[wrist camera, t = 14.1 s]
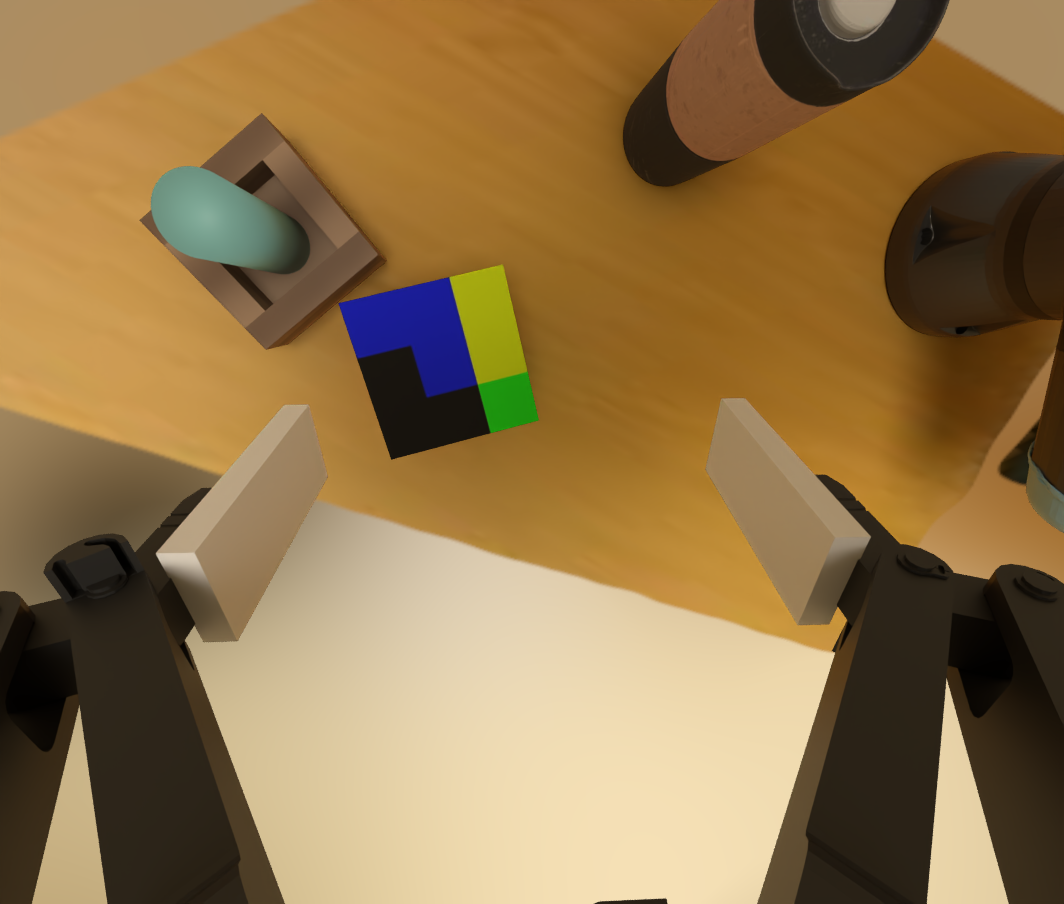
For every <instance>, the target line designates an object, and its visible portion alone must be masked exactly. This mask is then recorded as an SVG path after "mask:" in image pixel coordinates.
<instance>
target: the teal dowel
mask: <svg viewBox="0 0 1064 904" xmlns="http://www.w3.org/2000/svg"><path fill="white" fill-rule="evenodd" d="M151 211H152V216H153V219H154V222H155V224H156V226H157V228H158V230H159V232H160V233H161V234H162V236H163V237H164V238H165V239H166V241H167V242H168V243H169V244H171V245H172V246H173V247H174V248H176V249H177V250H178V251H180V252H182V253H184V254H186V255H188V256H191V257H194V258H199V259H204V260H209V261H214V262H220V263H225V264H230V265H235V266H241V267H246V268H251V269H256V270H262V271H267V272H272V273H277V274H291V273H294V272H296V271H298V270H300V269H301V268H302V267H303V266H304V265H305V264H306V262H307V260H308V258H309V255H310V242H309V238H308V235H307V233H306V231H305V230H304V228H303V227H302V226H301V224H300V223H299V222H297V221H296V220H295V219H293V218H292V217H290V216H288V215H287V214H285V213H283V212H281V211H280V210H278V209H276V208H274V207H273V206H271V205H269V204H267V203H266V202H264V201H262V200H260V199H259V198H257V197H255V196H253V195H252V194H250V193H248V192H246V191H245V190H243V189H241V188H239V187H238V186H236V185H234V184H232V183H231V182H229V181H227V180H225V179H224V178H222V177H220V176H218V175H217V174H215V173H213V172H211V171H209V170H206V169H203V168H199V167H193V166H184V167H178V168H175V169H172V170H170V171H169V172H167V173H166V174H164V175H163V176H162V177H161V178H160V179H159V180H158V182H157V183H156V185H155V187H154V189H153V192H152V197H151Z"/></svg>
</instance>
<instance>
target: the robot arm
mask: <svg viewBox="0 0 1064 904" xmlns="http://www.w3.org/2000/svg"><path fill="white" fill-rule="evenodd" d="M886 282H887V288H888V293H889V296H890V299H891V302H892V304H893V306H894V308H895V310H896V312H897V313H898V315H899V316H900V317H901V319H902V320H903V321H904V322H905V323H906V324H907V325H909V326H910V327H911V328H913V329H915V330H916V331H918V332H921V333H923V334H927V335H931V336H943V337H969V336H976V335H980V334H984V333H988V332H992V331H996V330H1000V329H1004V328H1008V327H1012V326H1016V325H1020V324H1024V323H1028V322H1032V321H1036V320H1062V325H1061V330H1060V334H1059V339H1058V343H1057V346H1056V352H1055V356H1054V361H1053V365H1052V370H1051V374H1050V378H1049V383H1048V388H1047V391H1046V396H1045V401H1044V405H1043V409H1042V413H1041V418H1040V422H1039V426H1038V431H1037V435H1036V440H1035V441H1033V442H1032V444H1031V445H1030V448H1029V451H1028V458H1029V461H1028V463H1029V465H1030V466H1029V472H1028V478H1027V484H1026V492H1027V495H1028V498H1029V502H1030V503H1031V505H1032V507H1033V509H1034V510H1035V511H1036V512H1037V513H1038V514H1039V515H1040V516H1041V517H1042V518H1043V519H1044V520H1046V521H1047V522H1048V523H1049V524H1050V525H1052V526H1053V527H1055V528H1056V529H1058V530H1059V531H1061V532H1063V533H1064V155H1052V154H1034V153H1016V152H992V153H987V154H983V155H979V156H975V157H972V158H968V159H965V160H961V161H958V162H955V163H953V164H950V165H948V166H946V167H944V168H943V169H941V170H939V171H938V172H936V173H935V174H934V175H932V176H931V177H930V178H929V179H928V180H926V181H925V182H924V183H923V184H922V185H921V186H920V187H919V188H918V189H917V191H916V192H915V193H914V194H913V195H912V197H911V198H910V200H909V201H908V202H907V204H906V205H905V207H904V209H903V210H902V212H901V214H900V216H899V218H898V220H897V222H896V224H895V227H894V229H893V232H892V235H891V238H890V242H889V246H888V251H887V258H886ZM705 470H706V471H707V473H708V475H709V476H710V478H711V480H712V481H713V483H714V485H715V486H716V488H717V490H718V491H719V493H720V495H721V497H722V498H723V500H724V502H725V503H726V505H727V507H728V508H729V510H730V512H731V513H732V515H733V517H734V519H735V520H736V522H737V524H738V525H739V527H740V529H741V530H742V532H743V534H744V535H745V537H746V539H747V540H748V542H749V544H750V546H751V547H752V549H753V551H754V552H755V554H756V556H757V557H758V559H759V561H760V562H761V564H762V566H763V568H764V569H765V571H766V573H767V574H768V576H769V578H770V579H771V581H772V583H773V584H774V586H775V588H776V590H777V591H778V593H779V595H780V596H781V598H782V600H783V601H784V603H785V605H786V606H787V608H788V610H789V611H790V613H791V615H792V617H793V618H794V620H795V622H796V623H797V625H821V624H830V621H831V619H832V617H833V615H834V613H835V611H836V609H837V607H839V609H840V610H841V612H842V613H843V614H844V616H845V617H846V619H847V622H846V624H845V626H844V628H843V630H842V632H841V634H840V636H839V638H838V640H837V642H836V644H835V646H834V648H833V650H832V651H833V652H835V655H834V659H833V662H832V665H831V668H830V672H829V675H828V678H827V681H826V685H825V688H824V691H823V694H822V698H821V701H820V704H819V707H818V710H817V714H816V717H815V720H814V723H813V726H812V730H811V733H810V736H809V739H808V742H807V746H806V749H805V752H804V755H803V759H802V762H801V765H800V768H799V772H798V775H797V778H796V781H795V784H794V788H793V792H792V794H791V798H790V800H789V804H788V807H787V810H786V813H785V817H784V820H783V823H782V826H781V829H780V833H779V836H778V839H777V842H776V846H775V849H774V852H773V855H772V858H771V862H770V865H769V868H768V871H767V875H766V878H765V881H764V884H763V888H762V891H761V894H760V897H759V900H758V903H757V904H927V893H928V882H929V870H930V859H931V848H932V836H933V824H934V813H935V802H936V790H937V779H938V768H939V756H940V746H941V735H942V723H943V711H944V701H945V689H946V678H947V681H948V685H949V688H950V691H951V695H952V699H953V703H954V706H955V710H956V714H957V717H958V721H959V724H960V728H961V732H962V735H963V739H964V743H965V746H966V750H967V753H968V757H969V761H970V764H971V768H972V772H973V775H974V779H975V782H976V786H977V790H978V793H979V797H980V801H981V804H982V808H983V811H984V815H985V819H986V822H987V826H988V830H989V833H990V837H991V840H992V844H993V848H994V851H995V855H996V859H997V862H998V866H999V870H1000V873H1001V876H1002V881H1003V883H1004V888H1005V891H1006V895H1007V899H1008V902H1009V904H1064V584H1063V583H1062V582H1060V581H1059V580H1057V579H1056V578H1054V577H1052V576H1051V575H1047V574H1046V573H1044V572H1042V571H1040V570H1035V569H1033V568H1029V567H1026V566H1021V565H1014V564H1008V565H1001V566H1000V567H999V568H997V569H996V570H995V572H994V573H993V575H992V576H991V578H990V579H989V580H988V579H983V578H978V577H973V576H967V575H962V574H957V573H953V571H952V570H951V568H950V567H949V566H948V565H947V564H946V563H945V562H944V561H943V560H941V559H940V558H938V557H937V556H935V555H934V554H932V553H929V552H927V551H925V550H923V549H921V548H918V547H914V546H910V545H904V544H900V543H899V542H898V541H897V540H896V539H895V538H894V537H893V536H892V535H891V534H890V533H889V532H888V531H887V530H886V529H885V528H884V527H883V526H882V525H881V524H880V523H879V522H878V521H877V520H876V519H875V518H874V517H873V515H872V514H871V513H870V512H869V511H866V510H865V509H866V508H865V507H864V506H863V505H862V504H861V503H860V502H859V501H856V498H855V497H854V496H853V495H852V494H851V493H850V492H849V491H848V490H847V489H846V488H845V487H844V485H842V484H840V483H839V482H837V481H835V480H834V479H832V478H830V477H829V476H827V475H814V474H813V473H812V471H811V470H810V469H809V468H808V467H807V466H806V465H805V464H804V463H803V462H802V460H801V459H800V458H799V457H798V456H797V455H796V454H795V453H794V452H793V451H792V449H791V448H790V447H789V446H788V445H787V444H786V443H785V442H784V441H783V440H782V438H781V437H780V436H779V435H778V434H777V433H776V432H775V431H774V430H773V429H772V427H771V426H770V425H769V424H768V423H767V422H766V421H765V420H764V419H763V418H762V416H761V415H760V414H759V413H758V412H757V411H756V410H755V409H754V408H753V407H752V405H751V404H750V403H749V402H748V401H747V400H746V399H745V398H721V402H720V407H719V411H718V416H717V420H716V425H715V429H714V433H713V438H712V442H711V447H710V451H709V456H708V460H707V465H706V469H705ZM327 477H328V475H327V471H326V468H325V464H324V460H323V456H322V452H321V449H320V445H319V441H318V437H317V433H316V430H315V426H314V422H313V418H312V415H311V411H310V407H309V405H284V406H283V407H282V408H281V409H280V410H279V411H278V413H277V414H276V415H275V416H274V417H273V418H272V420H271V421H270V422H269V423H268V424H267V425H266V426H265V428H264V429H263V430H262V431H261V432H260V433H259V435H258V436H257V437H256V438H255V439H254V440H253V442H252V443H251V444H250V445H249V446H248V447H247V448H246V450H245V451H244V452H243V453H242V454H241V455H240V457H239V458H238V459H237V460H236V461H235V462H234V463H233V465H232V466H231V467H230V468H229V469H228V470H227V472H226V473H225V474H224V475H223V476H222V477H221V478H220V480H219V481H218V482H217V483H216V484H215V486H214V487H213V488H201V489H200V490H198V491H197V492H195V493H194V494H192V495H190V496H189V497H187V498H186V499H184V500H183V501H182V502H181V503H180V504H179V505H178V506H177V508H176V509H175V510H174V511H173V512H172V513H171V516H168V517H167V518H166V519H165V521H164V522H163V523H162V524H161V527H160V528H157V529H156V530H155V531H154V533H153V534H152V535H151V536H150V537H149V538H148V539H147V540H146V541H145V542H144V544H142V546H141V547H140V548H139V549H138V550H137V551H136V552H134V551H133V549H132V547H131V545H130V544H129V542H128V541H127V539H126V538H125V537H124V536H122V535H117V534H103V535H97V536H93V537H90V538H86V539H83V540H81V541H79V542H76V543H74V544H72V545H70V546H68V547H66V548H65V549H63V550H62V551H60V552H59V553H57V554H56V555H54V556H53V558H52V559H51V560H50V561H49V562H48V563H47V564H46V566H45V569H44V574H45V576H46V577H47V578H48V580H49V581H50V583H51V584H52V585H53V586H54V588H55V589H56V591H57V592H58V593H59V595H60V596H61V599H57V600H53V601H48V602H44V603H40V604H36V605H32V606H28V605H27V604H26V603H25V602H24V600H23V599H22V598H21V597H20V596H19V595H18V594H16V593H15V592H7V591H1V592H0V904H32V900H33V896H34V892H35V888H36V883H37V879H38V875H39V871H40V867H41V863H42V859H43V854H44V850H45V846H46V842H47V838H48V834H49V829H50V825H51V821H52V817H53V813H54V809H55V804H56V800H57V796H58V792H59V788H60V783H61V779H62V775H63V771H64V766H65V762H66V758H67V754H68V750H69V745H70V742H71V737H72V733H73V729H74V725H75V720H76V716H77V712H78V708H79V704H80V711H81V719H82V725H83V732H84V740H85V746H86V753H87V760H88V768H89V775H90V782H91V789H92V797H93V804H94V811H95V817H96V824H97V832H98V838H99V846H100V853H101V861H102V867H103V875H104V882H105V889H106V896H107V903H108V904H285V903H284V900H283V897H282V895H281V892H280V889H279V887H278V884H277V881H276V879H275V876H274V873H273V871H272V868H271V865H270V863H269V860H268V857H267V855H266V852H265V849H264V847H263V844H262V841H261V838H260V836H259V833H258V830H257V828H256V825H255V823H254V820H253V817H252V814H251V812H250V809H249V807H248V804H247V801H246V799H245V796H244V793H243V790H242V788H241V785H240V782H239V780H238V777H237V774H236V772H235V769H234V766H233V763H232V761H231V758H230V755H229V753H228V750H227V747H226V745H225V742H224V740H223V737H222V734H221V731H220V729H219V726H218V724H217V721H216V718H215V716H214V713H213V710H212V707H211V705H210V702H209V699H208V697H207V694H206V691H205V689H204V686H203V683H202V680H201V678H200V675H199V673H198V670H197V667H196V665H195V662H194V659H193V656H192V654H191V651H190V649H189V647H188V645H187V643H186V642H185V639H186V637H187V636H188V634H189V633H190V631H191V630H192V628H193V627H194V625H195V627H196V629H197V631H198V633H199V634H200V636H201V638H202V640H203V642H224V641H225V642H227V641H238V639H239V638H240V636H241V634H242V632H243V630H244V628H245V627H246V625H247V623H248V621H249V619H250V618H251V616H252V614H253V612H254V610H255V608H256V607H257V605H258V603H259V601H260V599H261V597H262V596H263V594H264V592H265V590H266V588H267V587H268V585H269V583H270V581H271V579H272V578H273V576H274V574H275V572H276V570H277V568H278V566H279V565H280V563H281V561H282V559H283V557H284V556H285V554H286V552H287V550H288V548H289V547H290V545H291V543H292V541H293V539H294V537H295V536H296V534H297V532H298V530H299V528H300V526H301V524H302V523H303V521H304V519H305V517H306V516H307V514H308V512H309V510H310V508H311V507H312V505H313V503H314V501H315V499H316V497H317V496H318V494H319V492H320V490H321V488H322V486H323V485H324V483H325V481H326V479H327ZM595 904H667V899H645V900H622V901H602V902H597V903H595Z"/></svg>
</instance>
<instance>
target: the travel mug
mask: <svg viewBox="0 0 1064 904" xmlns="http://www.w3.org/2000/svg"><path fill="white" fill-rule="evenodd" d="M948 3H949V0H719V1H718V2H717V3H716V4H715V5H714V7H713V8H712V9H711V10H710V11H709V12H708V13H707V14H706V15H705V16H704V17H703V19H702V20H701V21H700V22H699V23H698V24H697V25H696V26H695V27H694V28H693V29H692V30H691V32H690V33H689V34H688V35H687V36H686V37H685V39H684V40H683V41H682V42H681V43H680V45H679V46H678V47H677V48H676V50H675V51H674V52H673V53H672V54H671V56H670V57H669V58H668V59H667V61H666V62H665V63H664V64H663V66H662V67H661V68H660V69H659V71H658V72H657V73H656V74H655V75H654V77H653V78H652V79H651V80H650V82H649V83H648V84H647V85H646V87H645V88H644V89H643V90H642V91H641V93H640V94H639V95H638V97H637V98H636V99H635V101H634V102H633V104H632V106H631V107H630V109H629V112H628V114H627V117H626V120H625V125H624V132H623V142H624V149H625V153H626V156H627V159H628V161H629V163H630V165H631V167H632V168H633V170H634V171H635V172H636V173H637V174H638V175H639V176H640V177H641V178H642V179H644V180H645V181H647V182H649V183H651V184H654V185H658V186H672V185H676V184H679V183H682V182H684V181H687V180H689V179H691V178H694V177H696V176H698V175H701V174H703V173H705V172H707V171H710V170H712V169H714V168H717V167H719V166H721V165H723V164H726V163H728V162H730V161H732V160H735V159H737V158H739V157H741V156H743V155H745V154H747V153H749V152H751V151H753V150H755V149H757V148H759V147H760V146H762V145H764V144H766V143H768V142H770V141H772V140H774V139H776V138H778V137H780V136H781V135H783V134H785V133H787V132H789V131H791V130H793V129H795V128H797V127H799V126H801V125H802V124H804V123H806V122H808V121H810V120H812V119H814V118H816V117H818V116H820V115H822V114H823V113H825V112H827V111H829V110H831V109H833V108H835V107H837V106H839V105H841V104H843V103H844V102H846V101H848V100H850V99H852V98H854V97H856V96H858V95H860V94H862V93H864V92H865V91H867V90H869V89H871V88H873V87H875V86H878V85H881V84H883V83H885V82H887V81H889V80H891V79H893V78H894V77H895V76H897V75H898V74H900V73H901V72H902V71H903V70H904V69H906V68H907V67H908V66H909V65H910V64H911V63H912V62H913V61H914V60H915V59H916V58H917V57H918V56H919V55H920V54H921V52H922V51H923V50H924V49H925V48H926V46H927V45H928V43H929V42H930V41H931V39H932V38H933V36H934V34H935V32H936V31H937V29H938V27H939V25H940V23H941V21H942V19H943V17H944V14H945V12H946V9H947V6H948Z"/></svg>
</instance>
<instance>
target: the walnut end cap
mask: <svg viewBox="0 0 1064 904" xmlns="http://www.w3.org/2000/svg"><path fill="white" fill-rule="evenodd" d="M200 168H203V169H206V170H209V171H211V172H213V173H215V174H217V175H218V176H220V177H222V178H224V179H225V180H227V181H229V182H231V183H232V184H234V185H236V186H238V187H239V188H241V189H243V190H245V191H246V192H248V193H250V194H252V195H253V196H255V197H257V198H259V199H260V200H262V201H264V202H266V203H267V204H269V205H271V206H273V207H274V208H276V209H278V210H280V211H281V212H283V213H285V214H287V215H288V216H290V217H292V218H293V219H295V220H296V221H297V222H299V223H300V224H301V226H302V227H303V228H304V230H305V231H306V233H307V235H308V238H309V242H310V255H309V258H308V260H307V262H306V264H305V265H304V266H303V267H302V268H301V269H300V270H298V271H296V272H294V273H291V274H277V273H272V272H267V271H262V270H256V269H251V268H246V267H241V266H235V265H230V264H225V263H220V262H214V261H209V260H204V259H199V258H194V257H191V256H188V255H186V254H184V253H182V252H180V251H178V250H177V249H176V248H174V247H173V246H172V245H171V244H169V243H168V242H167V241H166V239H165V238H164V237H163V236H162V234H161V233H160V232H159V230H158V228H157V226H156V224H155V222H154V219H153V216H152V211H150V212H148V213H147V214H146V215H145V216H144V217H143V218H142V219H140V221H141V222H142V223H143V224H144V225H145V226H146V227H147V229H148V230H149V231H150V232H151V233H152V234H153V235H154V236H155V237H156V238H157V239H158V240H159V241H160V242H161V243H162V244H163V245H164V246H165V247H166V248H167V249H168V250H169V251H170V252H171V253H172V254H173V255H174V256H175V257H176V258H177V259H178V260H179V261H180V262H181V263H182V264H183V265H184V266H185V267H186V268H187V269H188V270H189V271H190V273H191V274H192V275H193V276H194V277H195V278H196V279H197V280H198V281H199V282H200V283H201V284H202V285H203V286H204V287H205V288H206V289H207V290H208V291H209V292H210V293H211V294H212V295H213V296H214V297H215V298H216V299H217V300H218V301H219V302H220V303H221V304H222V305H223V306H224V307H225V308H226V309H227V310H228V311H229V312H230V313H231V314H232V315H233V317H234V318H235V319H236V320H237V321H238V322H239V323H240V324H241V325H242V326H243V327H244V328H245V329H246V330H247V331H248V332H249V333H250V334H251V335H252V336H253V337H254V338H255V339H256V340H257V341H258V342H259V343H260V344H261V345H262V346H263V347H264V348H265V349H270V348H274V347H278V346H282V345H287V344H289V343H290V342H291V341H292V340H294V339H295V338H296V337H297V336H298V335H299V334H301V333H302V332H303V331H304V330H305V329H307V328H308V327H309V326H310V325H311V324H313V323H314V322H315V321H316V320H317V319H318V318H320V317H321V316H322V315H323V314H324V313H326V312H327V311H328V310H329V309H330V308H332V307H333V306H334V305H335V304H336V303H337V302H339V301H340V300H341V299H342V298H343V297H345V296H346V295H347V294H348V293H349V292H351V291H352V290H353V289H354V288H355V287H356V286H358V285H359V284H360V283H361V282H362V281H364V280H365V279H366V278H367V277H368V276H369V275H371V274H372V273H373V272H374V271H375V270H377V269H378V268H379V267H380V266H381V265H383V264H384V263H385V262H386V259H385V258H384V257H383V256H382V255H381V253H380V252H379V251H378V250H377V248H376V247H375V246H374V245H373V244H372V242H371V241H370V240H369V239H368V237H367V236H366V235H365V234H364V233H363V231H362V230H361V229H360V228H359V226H358V225H357V224H356V223H355V222H354V220H353V219H352V218H351V217H350V216H349V214H348V213H347V212H346V211H345V209H344V208H343V207H342V206H341V205H340V203H339V202H338V201H337V200H336V198H335V197H334V196H333V195H332V194H331V192H330V191H329V190H328V189H327V187H326V186H325V185H324V184H323V183H322V181H321V180H320V179H319V178H318V176H317V175H316V174H315V173H314V172H313V170H312V169H311V168H310V167H309V166H308V164H307V163H306V162H305V161H304V159H303V158H302V157H301V156H300V155H299V153H298V152H297V151H296V150H295V148H294V147H293V146H292V145H291V144H290V142H289V141H288V140H287V139H286V138H285V137H284V136H283V135H282V134H281V133H280V132H279V130H278V129H277V128H276V127H275V126H274V125H273V124H272V123H271V122H270V121H269V120H268V119H267V118H266V117H265V116H264V115H263V114H262V113H261V114H260V115H259V116H258V117H257V118H255V119H254V120H253V121H252V122H251V123H250V124H249V125H248V126H246V127H245V128H244V129H243V130H242V131H241V132H240V133H238V134H237V135H236V136H235V137H234V138H233V139H232V140H230V141H229V142H228V143H227V144H226V145H225V146H224V147H222V148H221V149H220V150H219V151H218V152H217V153H216V154H214V155H213V156H212V157H211V158H210V159H209V160H208V161H207V162H205V163H204V164H203V165H202V166H201V167H200Z"/></svg>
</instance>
